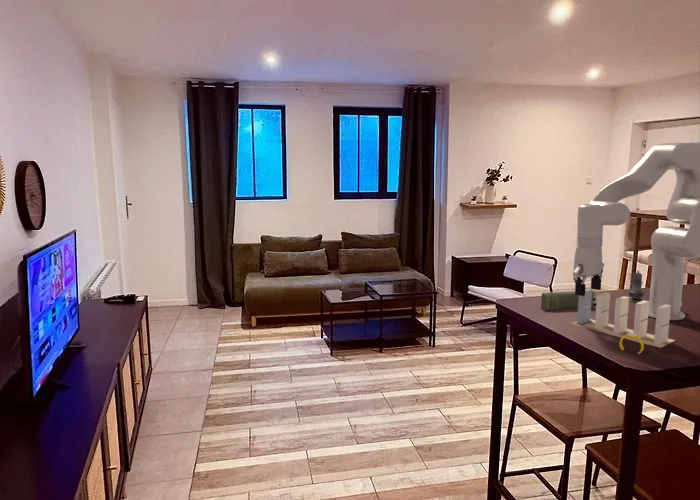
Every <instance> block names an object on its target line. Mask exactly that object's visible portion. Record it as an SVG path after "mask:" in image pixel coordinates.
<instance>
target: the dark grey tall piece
mask: <svg viewBox="0 0 700 500" xmlns="http://www.w3.org/2000/svg"><path fill="white" fill-rule="evenodd" d="M642 279H643V274H642V273H640V272H639V270H637V271H636V272H635V273H634V274H633V277H632V281H631V283H632V288H631V289H627V292H628V295H629V296H628V297H629V302H632V303H638V302H640V301H643V299H642V298H643V297H644V295H645V294H646V292H645V291H643V290H642V286H643V285H642V284H643V281H642Z"/></svg>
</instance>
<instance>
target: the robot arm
mask: <svg viewBox="0 0 700 500" xmlns="http://www.w3.org/2000/svg"><path fill="white" fill-rule="evenodd" d="M670 170H674V173H675V174H676V175H675V176H676V181H675V182H676V183H675V186H674V189H673V192H672V195H671V198H670V200H669V203H668V205H667V209H666V214H665V216H666V218H667V220H668V221H670V222H672V223H673V224H674V223H675V224H678V225H685V226H689V227H688V228H686V227H679V226H671V225H665V226H664V225H663V226H660V227H658V228H657V229H655V230H654V232H652V234H651V239H650V246H651V252H652V253H651V254H652V263H651V275H650V286H649V297H648V298H649V300H648V301H649V312H648V317H650V318H654V319H656V314H657V307H660V306H662V305H670V306H671V310H670V320H669V321H680V320H684V319H685V318H686V314H685V313H684V312H683V311H681V307H682V306H683V302H682V295H683V287H684V286H683V285H684V277H685V276H684V275H685V264H684V260H683V258H687V259H698V258H700V142H670V143H659V144H655V145H654V146H652V147H650V149H649V150H648V151H647V152H646V153H645V154H644V155H643V156H642V158H640V160H639V161H638V162H637V163H636V164H635V165H634V167H632V169H631V170H630V171H629V172H628V173H627V174H625V175H623V176H622V177H620V178H618V179H616V180H614V181H613V182H611V183H609V184H608V185H606V186H605V187H603V188H602V189H601V190H599V191H598V192H597V194H595V196H593V198H592V199H591V200H590V202H589V203H584V204H580V205H579V206H578V208H577V227H576V228H577V230H576V231H577V232H576V235H577V236H576V249H575V253H574V258H573V259H574V260H573V271H572V277H573V281H574V284H575V285H574V288H575V289H574V291H575V294H576V295H580V296H585V289H586V284H585V283H586V280H587V279H588V278H590V289H592V290H595V291H601V290H602V278H603V272H604V266H605V263H604V262H603V249H602V247H603V239H604V238H603V237H604V236H603V235H604V226H616V227H617V226H621V225H624V224H625V223H627V222H628V220H629V219H630V217H631V210H630V208H629V206H628V205H626V204H624V203H622V202H620V201H622V200H624V199H627V198H630V197H634V196H637V195H641V194H643V193H646V192H648V191H650V190H651V189H652V188H653V187H654V186H655V185H656V183H658V181H659V180H660V179H661V178H662V177H663V176H664V175H665V173H666V172H668V171H670Z"/></svg>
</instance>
